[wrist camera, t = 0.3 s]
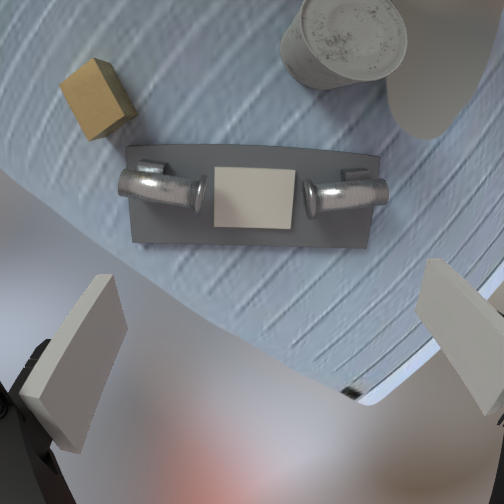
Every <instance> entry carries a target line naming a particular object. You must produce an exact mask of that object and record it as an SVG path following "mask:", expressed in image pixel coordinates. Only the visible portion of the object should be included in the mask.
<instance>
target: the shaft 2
mask: <svg viewBox="0 0 504 504" xmlns="http://www.w3.org/2000/svg"><path fill="white" fill-rule="evenodd" d="M340 173H341V182H335V183H325V184H315V185H313V183H312V181H311V179H303V183H302V192H303V202H304V208H305V212H306V216H307V218H308V220H314V219H316V215H317V212H325V211H334V210H342V209H347V210H349V209H358V208H367V207H371V206H379V205H386V204H387V203H388V199H389V190H388V186H387V183H386V181H385V180H384V179H383V178H380V179H370V170H368V169H366V168H364V167H363V168H350V169H340Z"/></svg>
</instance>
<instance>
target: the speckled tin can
mask: <svg viewBox="0 0 504 504" xmlns="http://www.w3.org/2000/svg"><path fill="white" fill-rule="evenodd" d="M407 46H408V36H407V30H406V27H405V23H404V21H403V19H402V17H401V15H400V13H399V11H398V10H397V9H396V7H395V6H394V5H393V4H392V2H391V1H390V0H304V2H303V4H302V6H301V8H300V10H299V12H298V13H297V15H296V16H295V18H294V20H293V21H292V23H291V25H290V26H289V28H288V29H287V30H286V31H285V33H284V35H283V37H282V40H281V45H280V54H281V58H282V61H283V64H284V66H285V67H286V69H287V71H288V72H289V73H290V74H291V76H292V77H293V78H294V79H296V80H297V81H298V82H300V83H301V84H303V85H305V86H307V87H310V88H314V89H317V90H331V89H336V88H339V87H342V86H346V85H351V84H355V83H360V82H367V81H376V80H379V79H382V78H385V77H388V76H389V75H390V74H392V73H393V72H395V71H396V70H397V69H398V67H399V66H400V65H401V64H402V62H403V60H404V58H405V55H406V53H407Z"/></svg>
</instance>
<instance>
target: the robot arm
mask: <svg viewBox="0 0 504 504" xmlns="http://www.w3.org/2000/svg"><path fill="white" fill-rule="evenodd" d="M415 313H416V314H417V316H418V317H419V318H420V320H421V321H422V322H423V324H424V325H425V326H426V328H427V329H428V331H429V332H430V333H431V335H432V336H433V338H434V339H435V340H436V342H437V343H438V345H439V346H440V348H441V349H442V350H443V352H444V353H445V355H446V356H447V358H448V359H449V360H450V362H451V363H452V365H453V367H454V368H455V369H456V371H457V373H458V374H459V375H460V377H461V379H462V380H463V382H464V383H465V385H466V386H467V388H468V389H469V391H470V393H471V394H472V396H473V397H474V399H475V401H476V402H477V404H478V406H479V407H480V409H481V410H482V412H483V414H484V415H485V416H487V415H489V414H491V413H494V412H496V411H498V410H499V409H500V408H501V407H502V405H503V404H504V315H503V314H502V313H500V312H499V311H497V310H495V309H494V308H493V307H492V306H491V305H490V304H489V303H488V302H487V301H486V300H485V299H484V298H483V297H482V296H481V295H480V294H479V293H478V292H477V291H476V290H475V289H474V288H473V287H472V286H471V285H470V284H469V283H468V282H467V281H466V280H465V279H463V278H462V277H461V276H460V275H459V274H458V273H457V272H456V271H455V270H454V269H453V268H451V267H450V266H449V265H448V264H447V263H446V262H445V261H444V260H442V259H441V258H433V259H427V263H426V267H425V272H424V276H423V281H422V285H421V289H420V293H419V297H418V301H417V305H416V309H415ZM127 330H128V327H127V324H126V320H125V317H124V313H123V310H122V306H121V303H120V299H119V295H118V291H117V287H116V283H115V280H114V275H113V274H107V275H105V274H103V275H96V277H95V278H94V279H93V281H92V282H91V283H90V285H89V286H88V287H87V289H86V290H85V292H84V293H83V294H82V296H81V297H80V299H79V300H78V301H77V303H76V304H75V306H74V307H73V308H72V310H71V311H70V313H69V314H68V316H67V317H66V319H65V320H64V322H63V323H62V324H61V326H60V327H59V329H58V330H57V332H56V334H55V335H54V337H53V338H52V339H46V340H45V341H43V342H42V343H41V344H40V345H39V346H38V347H36V349H35V350H34V352H33V354H32V355H31V357H30V359H29V360H28V361H27V363H26V364H25V368H23V369H22V371H21V372H20V374H19V376H18V377H17V379H16V380H15V382H14V384H13V385H12V387H11V389H10V391H9V392H8V393H7V391H6V390H5V388H4V386H3V385H2V384H1V382H0V504H76V502H75V500H74V498H73V496H72V494H71V492H70V490H69V488H68V486H67V483H66V481H65V479H64V477H63V475H62V473H61V470H60V468H59V465H58V463H57V461H56V458H55V456H54V454H53V452H52V450H51V449H50V445H51V442H52V440H53V441H54V442H55V443H56V445H57V446H58V447H59V448H60V449H61V450H64V451H68V452H72V453H77V454H81V450H82V448H83V444H84V441H85V438H86V436H87V433H88V430H89V427H90V424H91V421H92V419H93V416H94V413H95V410H96V408H97V405H98V402H99V399H100V397H101V394H102V392H103V389H104V386H105V384H106V381H107V379H108V376H109V374H110V371H111V369H112V366H113V364H114V361H115V359H116V356H117V354H118V351H119V349H120V347H121V344H122V342H123V339H124V337H125V335H126V332H127ZM503 420H504V414H503V415H502V417H501V418H500V419H499V421H498V424H497V425H500V424H501V423H502V421H503ZM503 427H504V425H503ZM489 504H504V437H503V443H502V449H501V454H500V459H499V464H498V469H497V474H496V478H495V482H494V487H493V490H492V495H491V498H490V501H489Z"/></svg>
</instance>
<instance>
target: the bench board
mask: <svg viewBox="0 0 504 504" xmlns="http://www.w3.org/2000/svg"><path fill="white" fill-rule="evenodd" d="M126 158H127V169H132V170H137V165H138V161H140V160H142V159H148V160H154V161H161V162H167V163H168V164H167V170H166V175H170V176H176V177H181V178H187V179H193V180H198V181H200V178H201V175H202V174H203V175H208V180H207V186H206V192H205V197H204V202H203V206H202V211H201V214H200V217H199V216H194V209H192V208H187V207H181V206H176V205H170V204H165V203H152V202H146V201H140V200H135V199H134V198H130V197H128V198H129V211H130V223H131V233H132V243H176V244H219V245H259V246H295V247H330V248H363V249H366V247H367V242H368V236H369V231H370V225H371V219H372V213H373V207H374V206H371V207H367V208H358V209H349V210H347V209H342V210H334V211H325V212H317V215H316V219H314V220H308V218H307V216H306V212H305V208H304V202H303V192H302V183H303V179H311V181H312V183H313V185H315V184H325V183H335V182H341V173H340V169H350V168H363V167H364V168H366V169H368V170H370V179H378V173H379V165H380V157H378V156H373V155H365V154H357V153H348V152H340V151H330V150H319V149H308V148H295V147H280V146H262V145H235V144H164V145H138V146H128V147H126ZM215 167H244V168H269V169H288V170H295V182H294V194H293V206H292V217H291V228H290V229H277V228H244V227H214V180H215Z"/></svg>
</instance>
